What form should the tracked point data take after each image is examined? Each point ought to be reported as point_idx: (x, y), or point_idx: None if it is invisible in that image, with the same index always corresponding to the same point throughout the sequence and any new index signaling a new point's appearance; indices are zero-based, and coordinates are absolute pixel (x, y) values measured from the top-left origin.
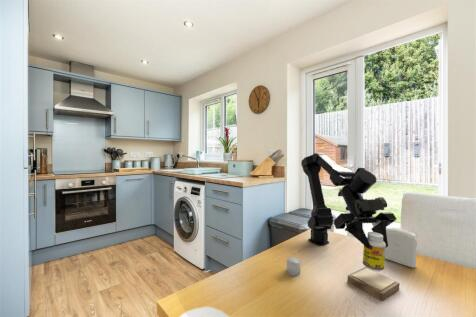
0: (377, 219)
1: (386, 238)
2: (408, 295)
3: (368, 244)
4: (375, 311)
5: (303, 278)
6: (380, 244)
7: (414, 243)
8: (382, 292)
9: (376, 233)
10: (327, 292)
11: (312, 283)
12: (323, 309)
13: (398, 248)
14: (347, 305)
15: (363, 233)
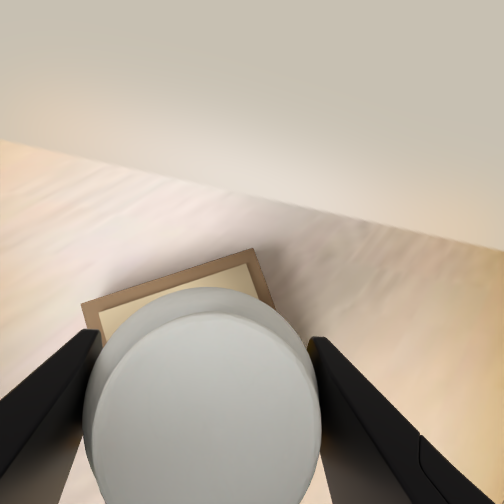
0: None
1: (26, 388)
2: (91, 261)
3: (335, 351)
4: (319, 215)
5: (496, 463)
6: (227, 297)
7: None
8: (245, 255)
9: (163, 458)
10: (434, 344)
11: (470, 416)
12: (488, 261)
13: None
14: (398, 261)
15: (416, 460)
